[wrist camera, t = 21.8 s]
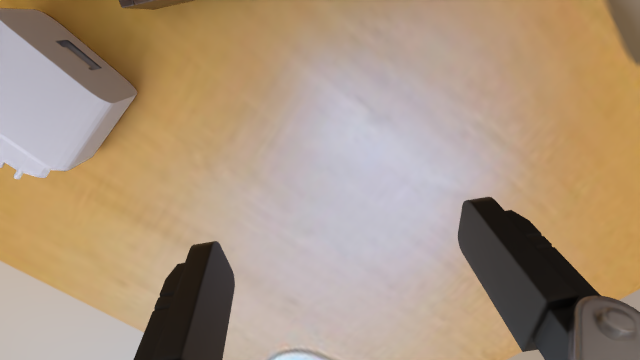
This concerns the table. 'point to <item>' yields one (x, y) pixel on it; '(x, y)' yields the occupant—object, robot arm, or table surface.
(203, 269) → the robot arm
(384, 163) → the table surface
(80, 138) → the charger
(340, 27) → the table surface
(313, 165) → the table surface
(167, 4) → the caddy
